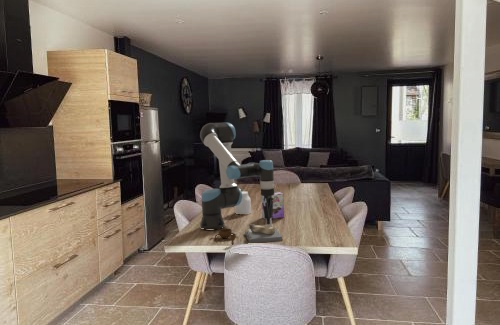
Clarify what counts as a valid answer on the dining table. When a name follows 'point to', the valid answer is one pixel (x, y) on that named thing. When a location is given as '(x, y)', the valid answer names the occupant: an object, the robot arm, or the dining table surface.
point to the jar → (244, 205)
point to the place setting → (226, 235)
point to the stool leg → (262, 229)
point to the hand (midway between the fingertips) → (269, 229)
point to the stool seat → (262, 236)
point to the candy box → (276, 206)
